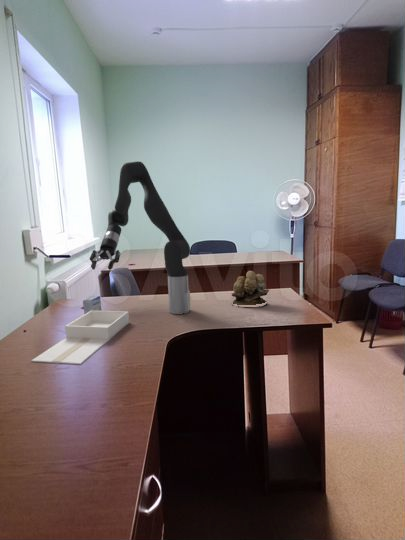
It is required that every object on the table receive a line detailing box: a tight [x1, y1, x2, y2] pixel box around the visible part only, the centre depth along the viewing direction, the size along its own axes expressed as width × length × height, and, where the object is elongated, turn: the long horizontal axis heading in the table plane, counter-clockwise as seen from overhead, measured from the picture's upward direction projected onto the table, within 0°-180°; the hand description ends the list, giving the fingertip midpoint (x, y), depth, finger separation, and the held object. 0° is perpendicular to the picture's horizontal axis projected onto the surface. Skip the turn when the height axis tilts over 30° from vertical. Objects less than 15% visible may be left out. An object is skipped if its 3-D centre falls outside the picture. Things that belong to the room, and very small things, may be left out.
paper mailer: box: [31, 310, 130, 365], centre depth 123 cm, size 17×38×5 cm, turn 169°
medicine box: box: [82, 295, 103, 315], centre depth 151 cm, size 8×4×9 cm, turn 168°
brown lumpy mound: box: [231, 270, 270, 305], centre depth 160 cm, size 18×12×17 cm, turn 88°
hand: (101, 268), depth 159 cm, fingers open, 8 cm apart
